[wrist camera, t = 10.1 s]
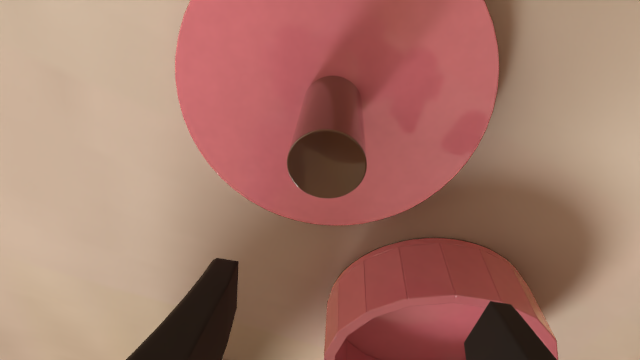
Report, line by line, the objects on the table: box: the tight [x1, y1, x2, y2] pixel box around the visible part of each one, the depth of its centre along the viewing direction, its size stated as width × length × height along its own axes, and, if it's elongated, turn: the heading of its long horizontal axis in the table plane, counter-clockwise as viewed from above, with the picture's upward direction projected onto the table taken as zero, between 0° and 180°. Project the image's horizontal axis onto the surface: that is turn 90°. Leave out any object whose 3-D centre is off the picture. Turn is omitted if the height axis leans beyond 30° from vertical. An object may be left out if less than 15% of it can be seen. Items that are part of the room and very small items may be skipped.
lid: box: [175, 0, 499, 225], centre depth 14 cm, size 13×13×6 cm
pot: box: [324, 238, 558, 360], centre depth 22 cm, size 12×12×4 cm
